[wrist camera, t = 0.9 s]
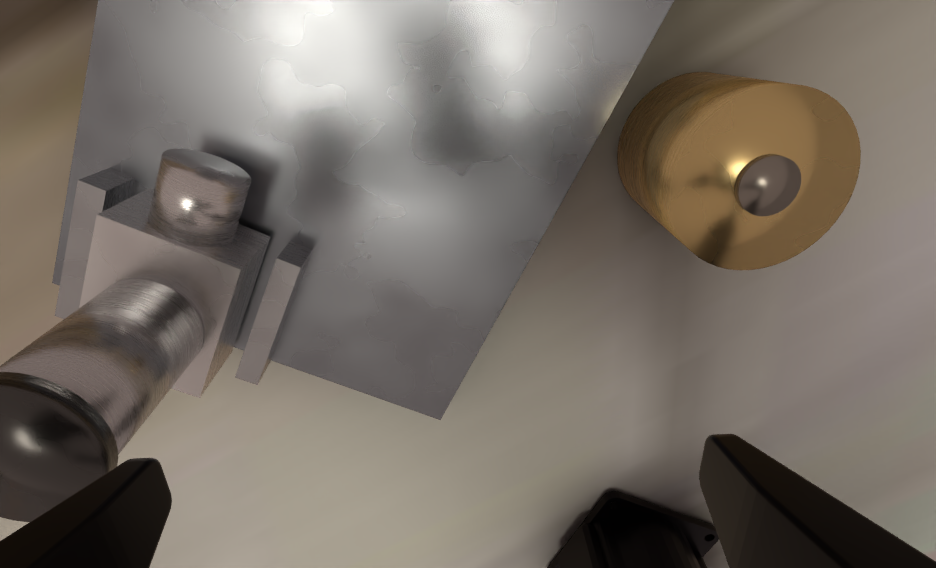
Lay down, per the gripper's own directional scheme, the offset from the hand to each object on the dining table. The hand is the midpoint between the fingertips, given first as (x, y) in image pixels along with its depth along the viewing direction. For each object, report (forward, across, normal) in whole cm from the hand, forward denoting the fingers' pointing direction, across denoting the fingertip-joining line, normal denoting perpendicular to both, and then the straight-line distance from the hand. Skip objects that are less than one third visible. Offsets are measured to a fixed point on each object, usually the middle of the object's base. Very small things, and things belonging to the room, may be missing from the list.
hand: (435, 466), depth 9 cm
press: (+12, +3, -4) cm, 13 cm away
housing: (+12, -9, -3) cm, 15 cm away
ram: (+10, +8, 0) cm, 13 cm away
